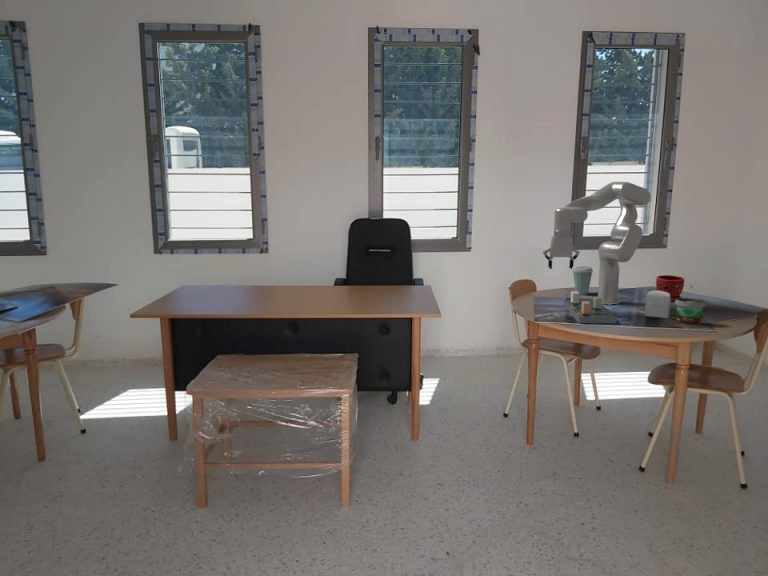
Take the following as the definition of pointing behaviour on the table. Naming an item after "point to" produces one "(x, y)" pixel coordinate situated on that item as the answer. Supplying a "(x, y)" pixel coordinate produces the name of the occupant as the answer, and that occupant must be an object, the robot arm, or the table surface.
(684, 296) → the table surface
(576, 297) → the slider ivory
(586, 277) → the disposable coffee cup
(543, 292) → the table surface
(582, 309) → the slider terracotta
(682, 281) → the plant pot
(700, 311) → the food container
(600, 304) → the slider sage
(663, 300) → the photo printer
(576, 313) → the grey slotted slider board
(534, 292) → the table surface
